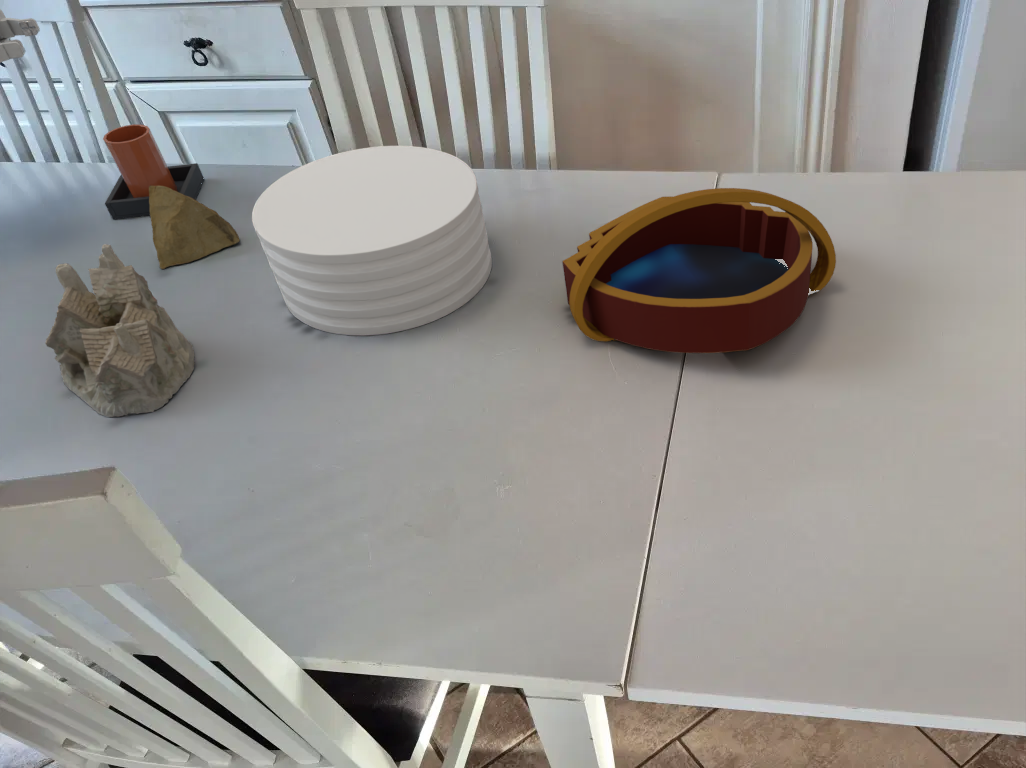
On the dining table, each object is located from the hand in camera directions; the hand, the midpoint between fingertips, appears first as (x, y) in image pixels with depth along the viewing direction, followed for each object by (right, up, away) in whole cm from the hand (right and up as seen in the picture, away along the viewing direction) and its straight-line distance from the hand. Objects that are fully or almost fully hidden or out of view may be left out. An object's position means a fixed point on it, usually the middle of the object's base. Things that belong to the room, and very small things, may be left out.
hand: (29, 36), depth 114 cm
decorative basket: (+91, -38, -7) cm, 99 cm away
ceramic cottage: (+21, -48, -12) cm, 53 cm away
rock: (+20, -27, +7) cm, 35 cm away
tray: (+7, -16, +19) cm, 25 cm away
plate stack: (+48, -32, +1) cm, 58 cm away
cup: (+7, -15, +18) cm, 25 cm away
